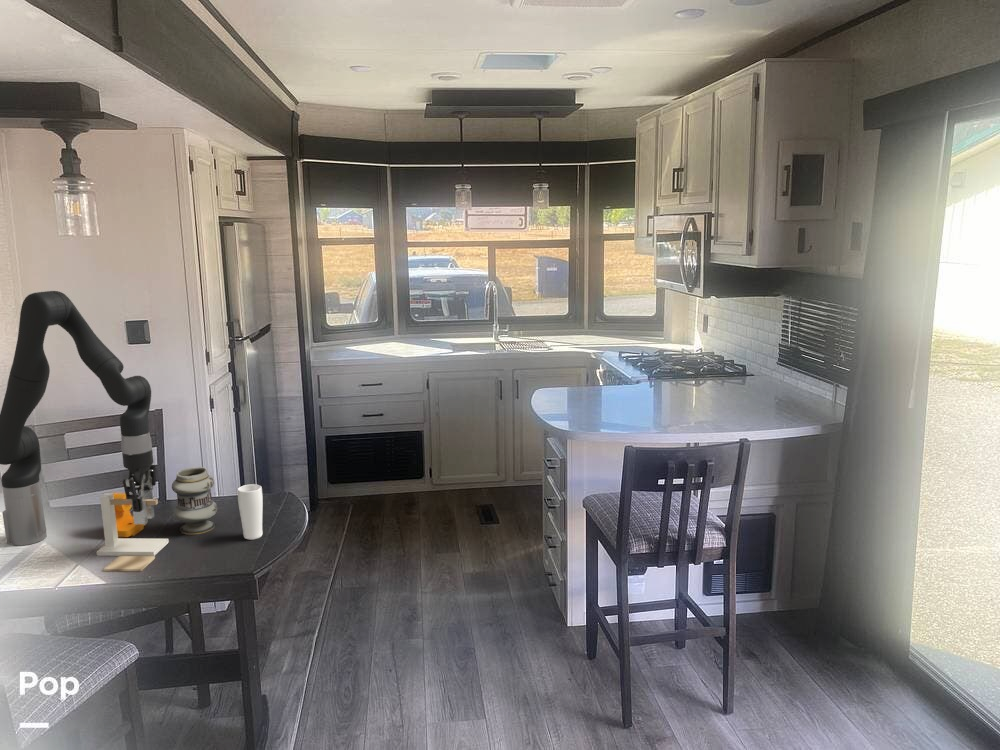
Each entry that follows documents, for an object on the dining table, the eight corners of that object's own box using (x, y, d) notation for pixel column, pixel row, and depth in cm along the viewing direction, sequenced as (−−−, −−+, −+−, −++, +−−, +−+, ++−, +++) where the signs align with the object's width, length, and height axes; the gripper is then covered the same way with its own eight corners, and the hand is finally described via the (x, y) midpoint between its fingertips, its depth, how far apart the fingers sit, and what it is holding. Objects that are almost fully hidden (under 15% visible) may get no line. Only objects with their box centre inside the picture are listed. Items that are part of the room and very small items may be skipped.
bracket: (128, 539, 224) (124, 500, 222) (104, 539, 225) (100, 500, 222) (148, 525, 235) (144, 488, 232) (125, 524, 235) (121, 487, 233)
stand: (97, 555, 213) (90, 500, 210) (113, 542, 222) (108, 489, 219) (154, 555, 213) (148, 501, 210) (168, 542, 222) (163, 489, 219)
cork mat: (103, 571, 204) (103, 569, 204) (119, 558, 212) (118, 556, 212) (140, 571, 204) (140, 569, 204) (155, 558, 212) (154, 556, 211)
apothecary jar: (170, 527, 233) (164, 470, 229) (209, 517, 240) (204, 462, 237) (184, 539, 224) (179, 480, 220) (225, 528, 231) (220, 471, 228)
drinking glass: (255, 542, 221) (252, 493, 218) (236, 539, 223) (232, 490, 220) (270, 533, 228) (266, 485, 225) (250, 530, 230) (247, 482, 227)
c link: (134, 524, 213) (131, 496, 212) (144, 516, 219) (141, 489, 217) (145, 524, 213) (142, 496, 211) (154, 516, 219) (151, 489, 217)
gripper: (136, 441, 219) (142, 498, 222) (109, 457, 205) (116, 517, 208) (162, 441, 219) (168, 498, 222) (137, 457, 204) (144, 517, 208)
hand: (143, 507), depth 215 cm, fingers closed on c link, 5 cm apart
